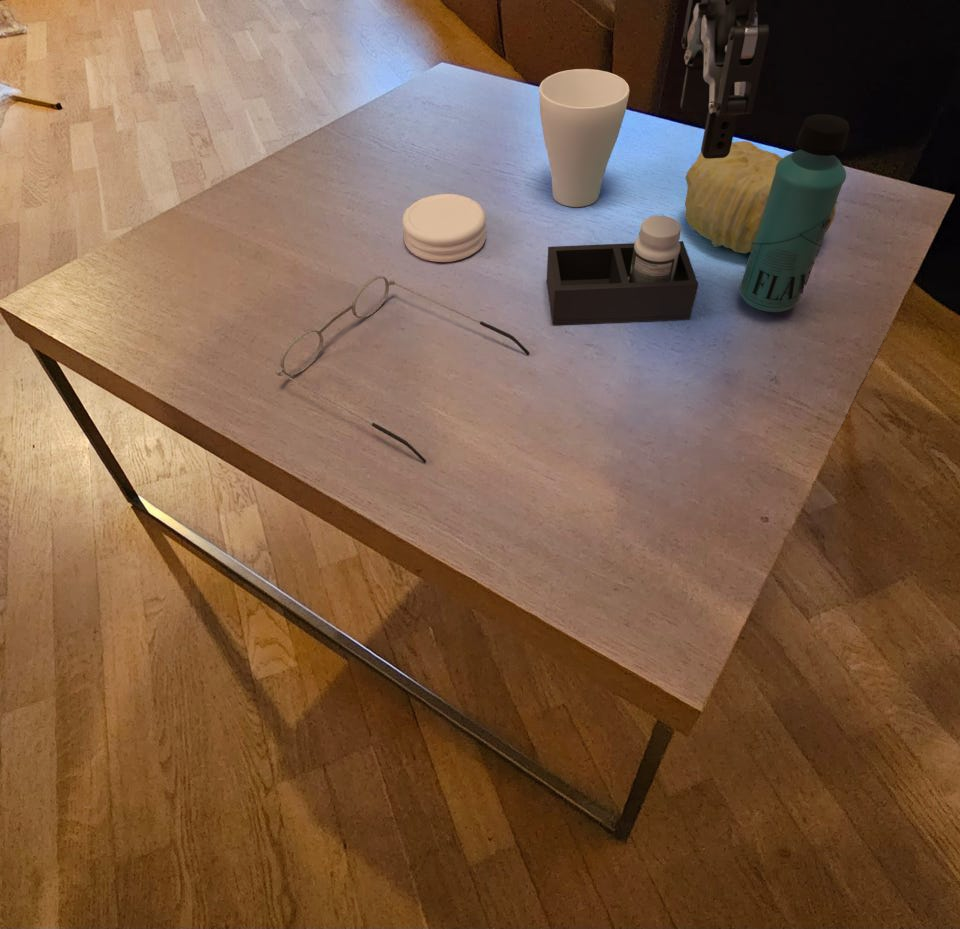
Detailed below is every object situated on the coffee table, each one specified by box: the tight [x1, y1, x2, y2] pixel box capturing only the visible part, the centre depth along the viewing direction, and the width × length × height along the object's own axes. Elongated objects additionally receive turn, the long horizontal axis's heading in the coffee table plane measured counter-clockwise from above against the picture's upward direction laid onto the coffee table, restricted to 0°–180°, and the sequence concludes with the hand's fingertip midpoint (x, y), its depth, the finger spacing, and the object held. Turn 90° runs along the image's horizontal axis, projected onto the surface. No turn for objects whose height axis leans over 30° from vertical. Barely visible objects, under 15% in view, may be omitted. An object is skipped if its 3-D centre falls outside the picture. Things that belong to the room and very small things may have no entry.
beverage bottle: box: [739, 113, 850, 313], centre depth 71 cm, size 6×7×20 cm
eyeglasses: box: [275, 275, 530, 464], centre depth 72 cm, size 18×19×4 cm
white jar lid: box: [401, 193, 487, 263], centre depth 87 cm, size 10×10×4 cm
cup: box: [538, 68, 631, 208], centre depth 89 cm, size 10×10×14 cm
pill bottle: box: [629, 215, 682, 283], centre depth 76 cm, size 5×5×8 cm
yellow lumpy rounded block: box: [684, 140, 838, 254], centre depth 84 cm, size 17×11×15 cm
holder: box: [546, 240, 699, 326], centre depth 78 cm, size 8×15×5 cm, turn 92°
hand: (702, 132), depth 62 cm, fingers open, 8 cm apart
